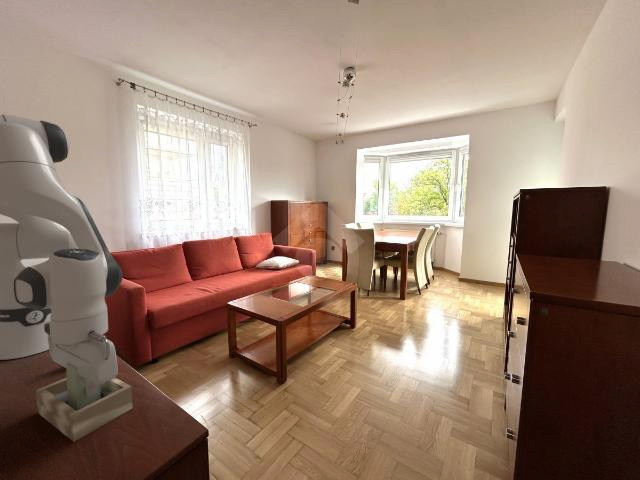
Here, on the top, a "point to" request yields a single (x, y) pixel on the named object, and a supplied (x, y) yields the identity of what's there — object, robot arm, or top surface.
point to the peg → (78, 390)
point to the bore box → (88, 418)
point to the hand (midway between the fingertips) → (84, 389)
